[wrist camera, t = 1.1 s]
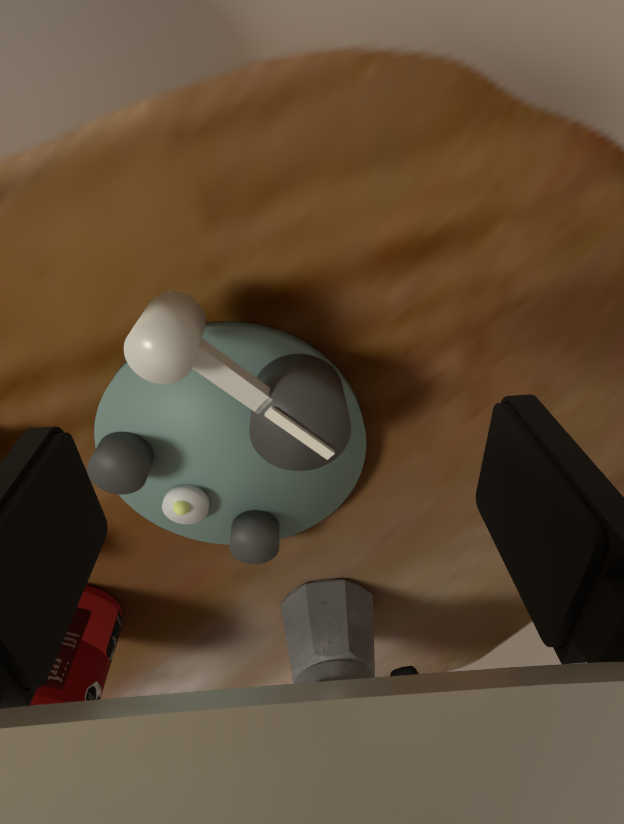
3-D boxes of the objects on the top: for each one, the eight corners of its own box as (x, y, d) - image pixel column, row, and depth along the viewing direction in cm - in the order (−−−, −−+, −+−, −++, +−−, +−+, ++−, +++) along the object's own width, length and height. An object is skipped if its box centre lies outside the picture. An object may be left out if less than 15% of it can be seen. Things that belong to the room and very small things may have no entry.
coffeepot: (290, 651, 48) (294, 900, 33) (241, 604, 43) (220, 870, 28) (431, 603, 45) (507, 855, 30) (395, 546, 40) (464, 813, 25)
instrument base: (415, 430, 33) (428, 461, 30) (255, 560, 40) (253, 596, 37) (206, 257, 26) (196, 277, 23) (52, 453, 32) (30, 487, 29)
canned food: (91, 642, 45) (42, 779, 36) (16, 606, 41) (-60, 748, 32) (144, 610, 43) (106, 748, 34) (69, 568, 39) (5, 710, 30)
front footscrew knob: (361, 390, 29) (378, 447, 24) (301, 444, 31) (305, 507, 26) (189, 249, 24) (165, 285, 19) (130, 326, 26) (95, 377, 21)
